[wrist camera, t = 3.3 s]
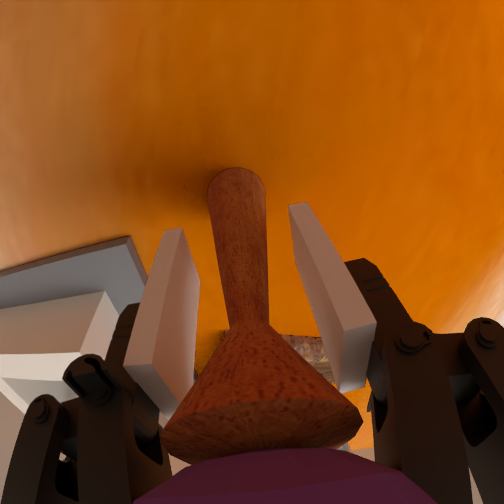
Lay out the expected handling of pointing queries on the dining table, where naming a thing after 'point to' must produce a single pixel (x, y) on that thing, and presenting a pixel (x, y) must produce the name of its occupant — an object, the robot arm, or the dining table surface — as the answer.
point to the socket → (63, 316)
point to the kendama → (264, 395)
